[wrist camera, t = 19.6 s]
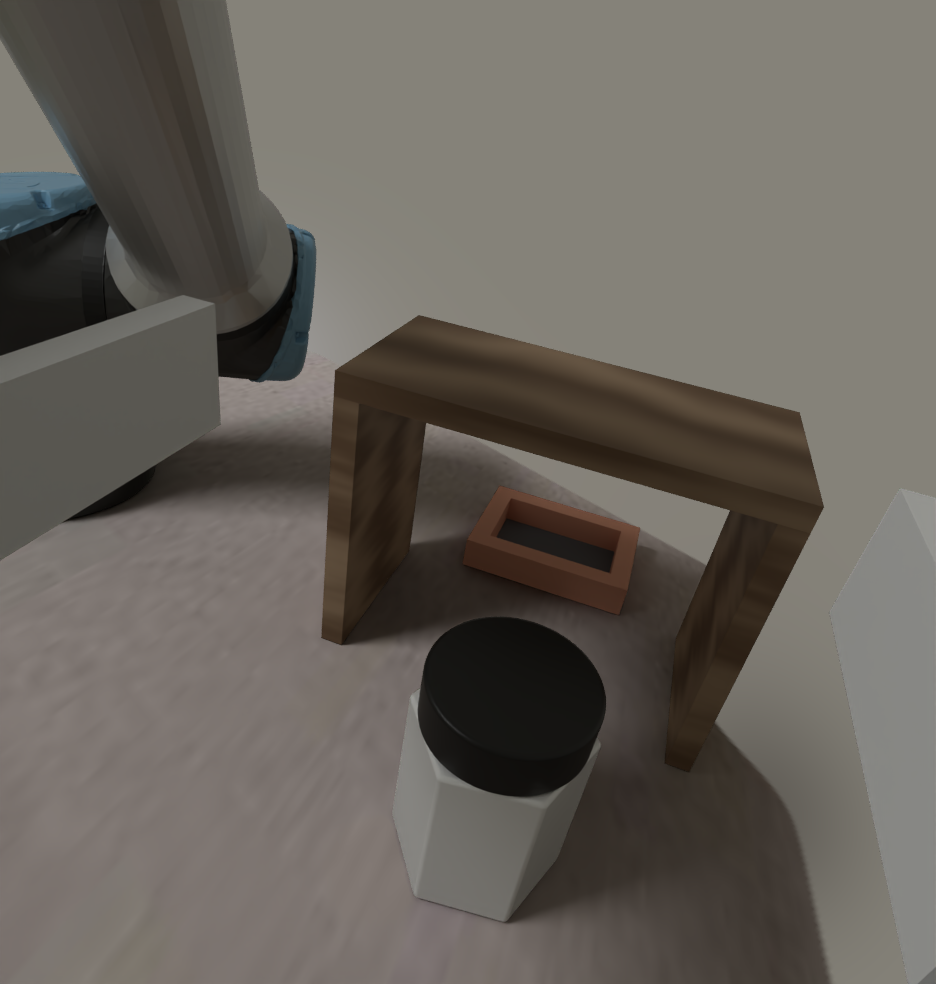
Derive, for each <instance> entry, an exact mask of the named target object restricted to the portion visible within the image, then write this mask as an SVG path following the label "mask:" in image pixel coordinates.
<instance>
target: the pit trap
mask: <svg viewBox="0 0 936 984" xmlns="http://www.w3.org/2000/svg"><path fill="white" fill-rule="evenodd" d="M639 531H640V528H639V527H636V526H632V525H629V524H626V523H622V522H619V521H616V520H612V519H609V518H606V517H602V516H599V515H596V514H593V513H589V512H586V511H583V510H579V509H576V508H573V507H569V506H566V505H563V504H559V503H556V502H553V501H549V500H546V499H543V498H539V497H536V496H533V495H529V494H526V493H523V492H519V491H516V490H513V489H509V488H506V487H503V486H499V487H498V489H497V491H496V492H495V494H494V496H493V497H492V499H491V501H490V502H489V504H488V506H487V507H486V509H485V511H484V512H483V514H482V516H481V517H480V519H479V521H478V522H477V524H476V526H475V527H474V529H473V530H472V532H471V534H470V535H469V537H468V539H467V543H466V548H465V553H464V559H463V564H464V565H467V566H470V567H473V568H476V569H479V570H482V571H485V572H488V573H491V574H494V575H497V576H500V577H503V578H506V579H509V580H513V581H516V582H519V583H522V584H525V585H528V586H531V587H534V588H537V589H540V590H543V591H546V592H549V593H552V594H555V595H558V596H561V597H564V598H567V599H570V600H574V601H577V602H580V603H583V604H586V605H589V606H592V607H595V608H598V609H601V610H604V611H607V612H610V613H613V614H616V615H619V613H620V611H621V608H622V605H623V602H624V599H625V596H626V594H627V591H628V586H629V581H630V576H631V571H632V566H633V561H634V556H635V551H636V546H637V541H638V536H639Z"/></svg>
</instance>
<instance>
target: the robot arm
mask: <svg viewBox="0 0 936 984" xmlns="http://www.w3.org/2000/svg"><path fill="white" fill-rule="evenodd" d="M0 40H1V41H2V43H3V45H4V46H5V48H6V50H7V51H8V53H9V55H10V57H11V58H12V60H13V62H14V63H15V65H16V67H17V69H18V70H19V72H20V74H21V75H22V77H23V79H24V80H25V82H26V84H27V86H28V87H29V89H30V91H31V92H32V94H33V96H34V97H35V99H36V101H37V103H38V104H39V106H40V108H41V109H42V111H43V113H44V115H45V116H46V118H47V120H48V121H49V123H50V125H51V126H52V128H53V130H54V131H55V133H56V135H57V137H58V138H59V140H60V142H61V143H62V145H63V147H64V149H65V150H66V152H67V154H68V155H69V157H70V159H71V160H72V162H73V164H74V165H75V167H76V169H77V171H78V172H79V174H80V176H79V175H76V174H71V173H59V172H58V173H57V172H14V173H0V560H2V559H3V558H5V557H7V556H8V555H10V554H12V553H13V552H15V551H16V550H18V549H20V548H21V547H23V546H25V545H26V544H28V543H29V542H31V541H33V540H34V539H36V538H38V537H39V536H41V535H42V534H44V533H46V532H47V531H49V530H50V529H52V528H54V527H55V526H57V525H59V524H60V523H62V522H63V521H65V520H67V519H68V518H73V517H78V516H82V515H87V514H90V513H94V512H97V511H100V510H103V509H106V508H109V507H111V506H114V505H116V504H118V503H120V502H122V501H124V500H126V499H128V498H130V497H131V496H133V495H134V494H136V493H137V492H139V491H140V490H141V489H142V488H143V487H144V486H145V485H146V484H147V483H148V482H149V481H150V479H151V478H152V476H153V474H154V471H155V465H156V464H157V463H159V462H161V461H162V460H164V459H166V458H167V457H169V456H170V455H172V454H174V453H175V452H177V451H179V450H180V449H182V448H183V447H185V446H187V445H188V444H190V443H192V442H193V441H195V440H196V439H198V438H200V437H201V436H203V435H204V434H206V433H208V432H209V431H211V430H213V429H214V428H216V427H217V426H219V425H221V424H220V402H219V380H218V377H230V378H241V379H249V380H250V381H252V382H254V381H255V382H259V383H260V382H264V381H265V380H270V381H288V380H291V379H293V378H295V377H297V376H298V375H299V374H300V372H301V371H302V368H303V366H304V362H305V358H306V353H307V346H308V332H309V329H310V323H311V317H312V308H313V298H314V286H315V272H316V246H315V239H314V237H313V235H312V234H311V233H310V232H308V231H306V230H303V229H299V228H297V227H295V226H294V225H291V224H286V223H285V220H284V219H283V217H282V215H281V214H280V212H279V211H278V209H277V208H276V207H275V206H274V204H273V203H272V202H271V201H270V200H269V199H268V198H267V197H266V196H265V195H264V194H263V193H262V192H261V191H259V188H258V182H257V176H256V171H255V165H254V159H253V153H252V147H251V142H250V136H249V131H248V125H247V119H246V114H245V108H244V102H243V96H242V91H241V85H240V80H239V73H238V68H237V62H236V56H235V51H234V45H233V39H232V33H231V28H230V22H229V16H228V11H227V5H226V0H0ZM829 614H830V618H831V623H832V628H833V633H834V637H835V641H836V646H837V651H838V656H839V661H840V666H841V670H842V675H843V680H844V684H845V689H846V694H847V698H848V703H849V708H850V712H851V717H852V722H853V727H854V731H855V736H856V741H857V745H858V750H859V755H860V759H861V764H862V769H863V774H864V779H865V783H866V788H867V793H868V797H869V802H870V807H871V812H872V816H873V821H874V826H875V830H876V835H877V840H878V845H879V849H880V854H881V858H882V863H883V868H884V873H885V877H886V882H887V887H888V891H889V896H890V901H891V906H892V910H893V915H894V920H895V925H896V929H897V934H898V939H899V943H900V948H901V953H902V958H903V962H904V967H905V972H906V976H907V981H908V984H936V498H935V497H931V496H927V495H924V494H920V493H916V492H913V491H909V490H905V489H901V488H900V489H899V490H898V492H897V494H896V496H895V498H894V499H893V501H892V503H891V505H890V506H889V508H888V510H887V512H886V513H885V515H884V517H883V519H882V520H881V522H880V524H879V526H878V527H877V529H876V531H875V533H874V534H873V536H872V538H871V540H870V542H869V543H868V545H867V547H866V548H865V550H864V552H863V554H862V556H861V557H860V559H859V561H858V562H857V564H856V566H855V568H854V570H853V572H852V573H851V575H850V577H849V579H848V580H847V582H846V584H845V586H844V587H843V589H842V591H841V592H840V594H839V596H838V598H837V599H836V601H835V603H834V605H833V606H832V608H831V610H830V612H829Z"/></svg>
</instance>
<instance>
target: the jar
mask: <svg viewBox="0 0 936 984" xmlns="http://www.w3.org/2000/svg"><path fill="white" fill-rule="evenodd" d="M605 710H606V695H605V690H604V686H603V683H602V680H601V678H600V676H599V674H598V672H597V670H596V668H595V667H594V665H593V664H592V662H591V661H590V660H589V658H588V657H587V656H586V655H585V654H584V653H583V652H582V650H580V649H579V648H578V647H577V646H576V645H575V644H574V643H572V642H571V641H570V640H568V639H567V638H565V637H564V636H562V635H561V634H559V633H557V632H556V631H554V630H552V629H550V628H547V627H545V626H543V625H540V624H537V623H534V622H531V621H527V620H523V619H518V618H511V617H485V618H478V619H474V620H470V621H467V622H464V623H462V624H459V625H457V626H455V627H453V628H452V629H450V630H449V631H447V632H446V633H444V634H443V635H442V636H441V637H440V638H439V639H438V640H437V641H436V642H435V644H434V645H433V646H432V648H431V650H430V651H429V653H428V655H427V658H426V661H425V665H424V670H423V676H422V682H421V688H419V689H418V690H417V691H415V692H414V693H413V694H412V695H411V696H410V701H409V707H408V714H407V720H406V727H405V733H404V740H403V746H402V753H401V759H400V766H399V772H398V779H397V785H396V792H395V798H394V805H393V811H392V815H393V818H394V822H395V826H396V830H397V833H398V837H399V841H400V845H401V849H402V852H403V856H404V860H405V864H406V867H407V871H408V875H409V879H410V883H411V886H412V890H413V894H414V896H415V897H417V898H420V899H423V900H427V901H430V902H434V903H438V904H441V905H445V906H448V907H452V908H455V909H459V910H462V911H466V912H470V913H473V914H477V915H480V916H484V917H487V918H491V919H494V920H498V921H501V922H506V921H507V920H508V919H509V918H510V917H511V916H512V914H513V913H514V912H515V911H516V909H517V908H518V907H519V906H520V904H521V903H522V902H523V901H524V899H525V898H526V897H527V896H528V894H529V893H530V892H531V891H532V889H533V888H534V887H535V886H536V884H537V883H538V882H539V881H540V879H541V878H542V877H543V876H544V874H545V873H546V872H547V871H548V869H549V868H550V867H551V866H552V864H553V863H554V862H555V861H556V860H557V858H558V856H559V853H560V851H561V848H562V845H563V843H564V840H565V838H566V835H567V833H568V830H569V827H570V825H571V822H572V820H573V817H574V815H575V812H576V809H577V807H578V804H579V802H580V799H581V797H582V794H583V791H584V789H585V786H586V784H587V781H588V779H589V776H590V774H591V771H592V768H593V766H594V763H595V761H596V758H597V756H598V753H599V750H600V748H601V743H600V741H599V739H598V737H597V736H598V733H599V731H600V728H601V725H602V723H603V720H604V716H605Z"/></svg>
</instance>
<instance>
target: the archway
mask: <svg viewBox="0 0 936 984" xmlns="http://www.w3.org/2000/svg"><path fill="white" fill-rule="evenodd" d="M426 423H429V424H432V425H436V426H439V427H443V428H446V429H450V430H453V431H457V432H460V433H464V434H467V435H471V436H474V437H477V438H481V439H485V440H488V441H492V442H495V443H498V444H502V445H505V446H509V447H512V448H516V449H519V450H523V451H526V452H530V453H533V454H536V455H540V456H543V457H547V458H550V459H554V460H557V461H561V462H565V463H568V464H571V465H575V466H578V467H582V468H585V469H589V470H592V471H596V472H599V473H602V474H606V475H609V476H613V477H616V478H620V479H624V480H627V481H630V482H634V483H637V484H641V485H644V486H648V487H651V488H654V489H658V490H662V491H665V492H669V493H672V494H676V495H679V496H683V497H686V498H689V499H693V500H696V501H700V502H703V503H707V504H710V505H714V506H717V507H720V508H724V509H727V510H730V512H729V515H728V517H727V519H726V521H725V524H724V526H723V528H722V531H721V533H720V536H719V538H718V541H717V543H716V545H715V547H714V550H713V552H712V554H711V557H710V559H709V562H708V564H707V566H706V569H705V571H704V573H703V576H702V578H701V580H700V583H699V585H698V587H697V590H696V592H695V595H694V597H693V599H692V602H691V604H690V606H689V609H688V611H687V613H686V616H685V618H684V621H683V623H682V625H681V628H680V630H679V632H678V635H677V637H676V643H675V654H674V665H673V677H672V688H671V699H670V710H669V721H668V732H667V743H666V754H665V763H666V764H668V765H671V766H674V767H677V768H679V769H682V770H685V771H688V772H689V771H690V769H691V767H692V765H693V763H694V761H695V760H696V758H697V756H698V754H699V752H700V750H701V748H702V746H703V744H704V742H705V740H706V738H707V736H708V734H709V732H710V730H711V728H712V726H713V724H714V722H715V720H716V718H717V716H718V714H719V712H720V710H721V708H722V706H723V704H724V702H725V700H726V699H727V697H728V695H729V693H730V691H731V689H732V686H733V685H734V683H735V681H736V679H737V677H738V675H739V673H740V671H741V669H742V667H743V665H744V663H745V661H746V659H747V657H748V655H749V653H750V651H751V649H752V647H753V645H754V643H755V641H756V640H757V638H758V636H759V634H760V632H761V630H762V628H763V626H764V624H765V622H766V620H767V618H768V616H769V614H770V612H771V610H772V608H773V606H774V604H775V602H776V600H777V598H778V596H779V594H780V592H781V590H782V588H783V587H784V584H785V583H786V581H787V579H788V577H789V575H790V573H791V571H792V569H793V567H794V565H795V563H796V561H797V559H798V557H799V555H800V553H801V551H802V549H803V547H804V545H805V543H806V541H807V539H808V537H809V535H810V533H811V531H812V529H813V527H814V526H815V524H816V522H817V520H818V518H819V516H820V514H821V512H822V510H823V508H824V506H823V502H822V498H821V494H820V490H819V486H818V482H817V479H816V474H815V471H814V467H813V463H812V459H811V455H810V451H809V447H808V443H807V440H806V436H805V432H804V428H803V424H802V420H801V416H800V413H799V412H795V411H792V410H788V409H784V408H780V407H776V406H772V405H768V404H764V403H760V402H757V401H753V400H749V399H745V398H741V397H737V396H733V395H729V394H725V393H721V392H717V391H714V390H710V389H706V388H702V387H697V386H694V385H690V384H686V383H682V382H678V381H674V380H671V379H667V378H662V377H659V376H655V375H651V374H647V373H643V372H639V371H635V370H631V369H627V368H623V367H620V366H616V365H612V364H607V363H604V362H600V361H596V360H592V359H588V358H585V357H581V356H576V355H573V354H569V353H565V352H561V351H557V350H553V349H549V348H545V347H542V346H537V345H533V344H530V343H526V342H521V341H518V340H514V339H510V338H506V337H502V336H499V335H494V334H491V333H486V332H483V331H479V330H475V329H471V328H467V327H463V326H459V325H455V324H451V323H448V322H444V321H440V320H436V319H431V318H428V317H424V316H420V315H419V316H417V317H415V318H414V319H412V320H411V321H409V322H408V323H407V324H405V325H403V326H402V327H400V328H399V329H397V330H396V331H394V332H393V333H391V334H390V335H388V336H387V337H385V338H384V339H382V340H380V341H379V342H377V343H376V344H374V345H373V346H372V347H370V348H369V349H367V350H365V351H364V352H362V353H361V354H359V355H358V356H356V357H355V358H353V359H352V360H350V361H349V362H347V363H346V364H344V365H343V366H341V367H339V368H338V369H336V370H335V383H334V403H333V422H332V442H331V461H330V481H329V500H328V520H327V539H326V559H325V578H324V598H323V617H322V637H321V638H324V639H326V640H329V641H332V642H335V643H337V644H340V645H342V643H343V642H344V641H345V639H346V638H347V636H348V635H349V634H350V632H351V631H352V630H353V628H354V627H355V625H356V624H357V623H358V621H359V620H360V618H361V617H362V616H363V614H364V613H365V611H366V610H367V609H368V607H369V606H370V605H371V603H372V602H373V600H374V599H375V598H376V596H377V595H378V593H379V592H380V591H381V589H382V588H383V586H384V585H385V584H386V582H387V581H388V580H389V578H390V577H391V575H392V574H393V573H394V571H395V570H396V568H397V567H398V566H399V564H400V563H401V561H402V560H403V559H404V557H405V556H406V555H407V553H408V552H409V549H410V542H411V534H412V526H413V519H414V511H415V503H416V496H417V488H418V481H419V473H420V465H421V458H422V450H423V443H424V435H425V427H426Z"/></svg>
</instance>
